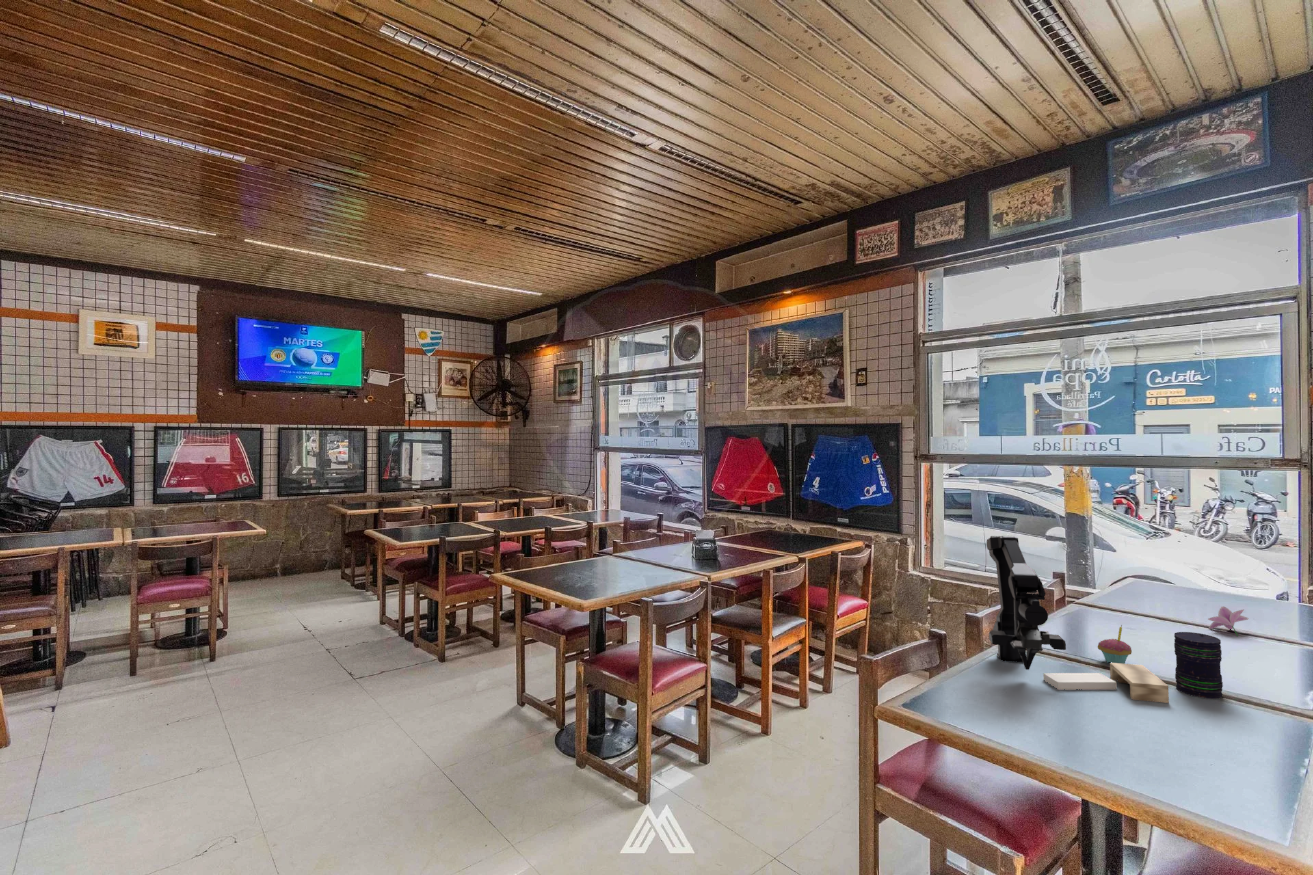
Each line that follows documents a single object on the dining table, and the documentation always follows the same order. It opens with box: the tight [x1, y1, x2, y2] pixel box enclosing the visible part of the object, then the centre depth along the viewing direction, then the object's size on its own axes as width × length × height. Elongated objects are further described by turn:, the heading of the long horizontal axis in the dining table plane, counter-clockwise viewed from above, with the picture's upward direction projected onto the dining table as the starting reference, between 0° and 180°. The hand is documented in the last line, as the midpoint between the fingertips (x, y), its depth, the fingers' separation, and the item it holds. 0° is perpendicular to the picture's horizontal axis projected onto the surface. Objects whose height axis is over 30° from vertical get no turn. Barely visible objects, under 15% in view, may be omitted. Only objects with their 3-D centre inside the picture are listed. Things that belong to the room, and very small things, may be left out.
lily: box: [1207, 606, 1250, 637], centre depth 219 cm, size 12×12×10 cm
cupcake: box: [1097, 624, 1133, 664], centre depth 193 cm, size 9×8×12 cm
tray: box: [1042, 672, 1118, 691], centre depth 176 cm, size 16×7×2 cm, turn 87°
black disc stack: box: [1173, 631, 1224, 700], centre depth 169 cm, size 10×10×15 cm
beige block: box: [1109, 663, 1170, 704], centre depth 171 cm, size 8×16×4 cm, turn 161°
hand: (1027, 669), depth 180 cm, fingers closed
